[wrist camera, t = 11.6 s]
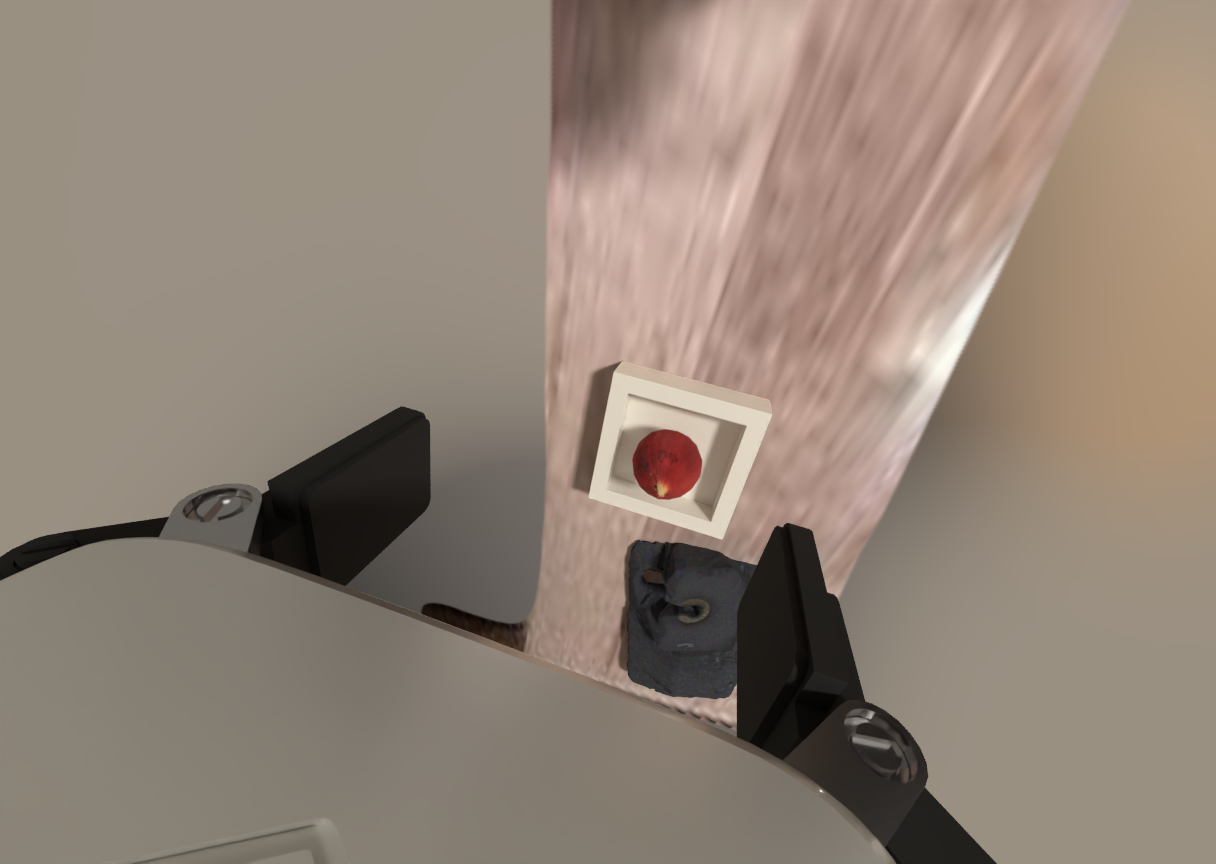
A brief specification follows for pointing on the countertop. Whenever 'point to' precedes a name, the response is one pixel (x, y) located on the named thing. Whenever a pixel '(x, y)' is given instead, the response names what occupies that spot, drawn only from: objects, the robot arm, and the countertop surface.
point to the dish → (697, 410)
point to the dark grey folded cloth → (685, 619)
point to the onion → (667, 464)
